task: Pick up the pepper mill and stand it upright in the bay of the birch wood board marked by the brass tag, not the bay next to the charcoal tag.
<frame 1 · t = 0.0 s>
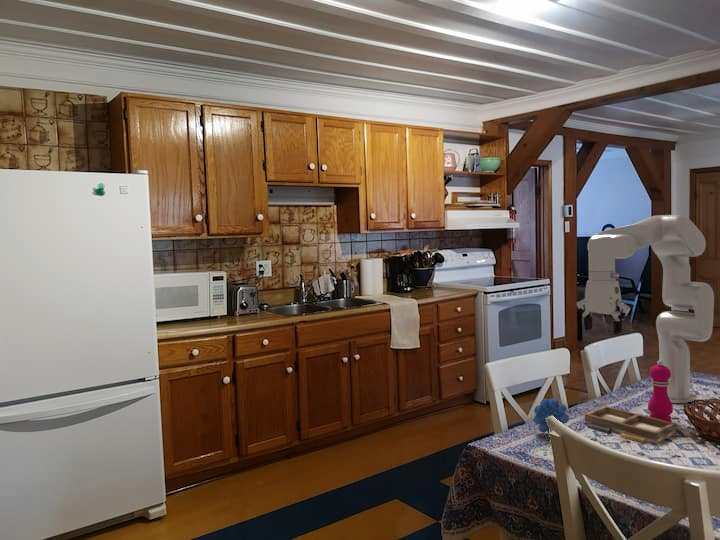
hand: (602, 331, 176), 31 cm above the table, tool pointing down, fingers open, 9 cm apart
pepper mill: (660, 422, 183), on the table
grapes: (552, 435, 176), on the table
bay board: (628, 428, 179), on the table
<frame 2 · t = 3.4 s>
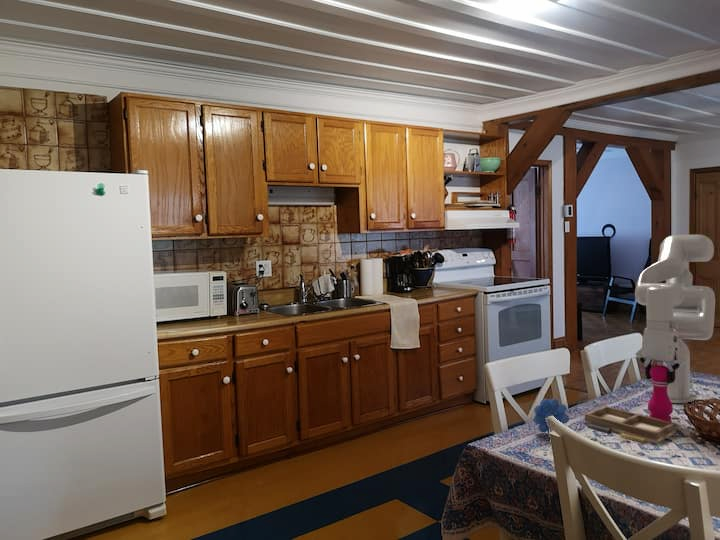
hand: (660, 380, 182), 14 cm above the table, tool pointing down, fingers closed on pepper mill, 6 cm apart
pepper mill: (660, 421, 183), on the table, touching gripper
everything else where it was.
when the fingers open (16 cm above the table, at t = 9.4 s): pepper mill drops 1 cm, resting on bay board.
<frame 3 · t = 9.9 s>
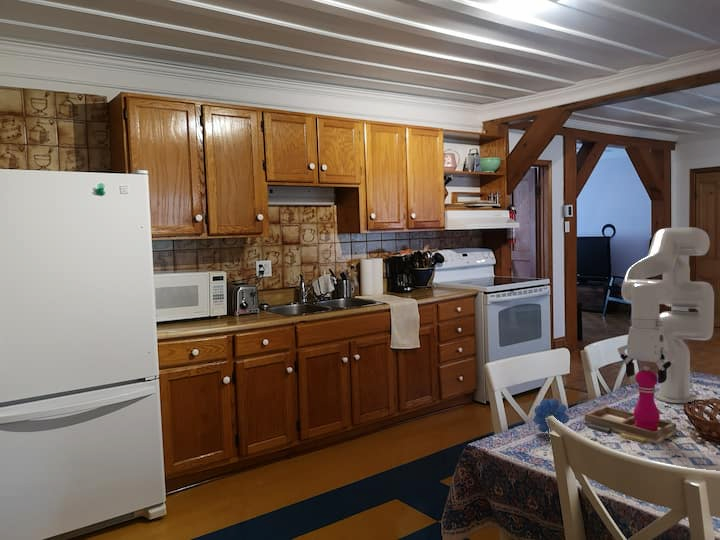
hand: (645, 379, 173), 17 cm above the table, tool pointing down, fingers open, 9 cm apart
pepper mill: (646, 429, 174), point 1 cm above the table, touching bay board
everything else where it was.
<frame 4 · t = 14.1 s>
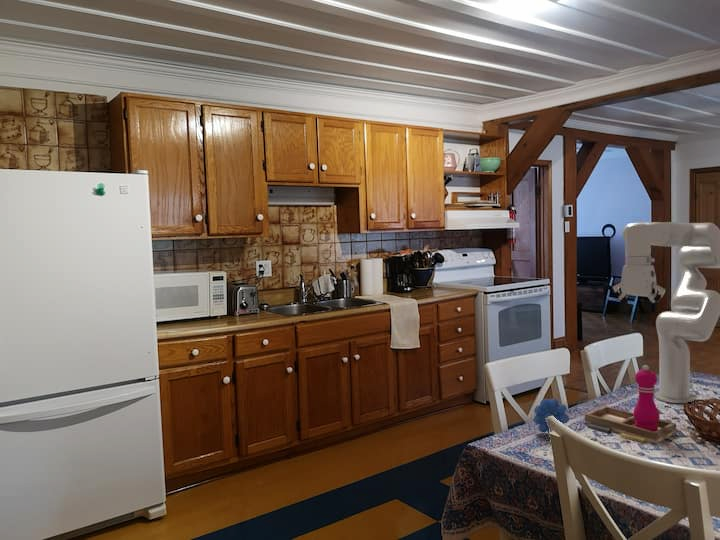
hand: (638, 312, 188), 34 cm above the table, tool pointing down, fingers open, 9 cm apart
nothing on the table moved.
at the end: pepper mill 0.3 cm from the target spot on the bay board, point 0.8 cm above the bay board's base; pepper mill tilted 0°; the gripper is holding nothing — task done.
